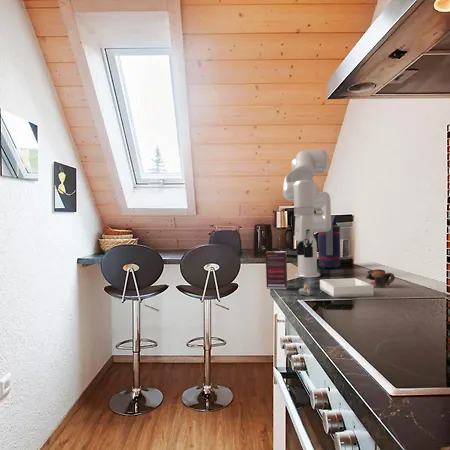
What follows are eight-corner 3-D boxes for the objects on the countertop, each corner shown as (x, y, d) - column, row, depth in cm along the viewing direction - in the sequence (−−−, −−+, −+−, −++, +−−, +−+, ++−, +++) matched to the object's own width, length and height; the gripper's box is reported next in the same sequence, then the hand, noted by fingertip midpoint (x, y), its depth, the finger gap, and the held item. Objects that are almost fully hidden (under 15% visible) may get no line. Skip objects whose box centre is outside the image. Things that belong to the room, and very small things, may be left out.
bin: (320, 289, 157) (319, 279, 157) (356, 287, 158) (355, 278, 158) (333, 297, 141) (333, 286, 141) (373, 295, 143) (373, 285, 142)
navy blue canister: (319, 266, 223) (318, 215, 222) (339, 266, 220) (339, 215, 219) (318, 269, 210) (317, 216, 209) (341, 270, 207) (340, 215, 206)
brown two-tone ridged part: (364, 288, 160) (362, 270, 163) (372, 294, 166) (370, 277, 170) (393, 283, 152) (390, 264, 156) (400, 290, 159) (397, 272, 163)
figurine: (295, 294, 148) (297, 279, 147) (304, 293, 150) (306, 278, 149) (304, 298, 143) (306, 283, 142) (313, 297, 146) (315, 282, 145)
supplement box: (287, 287, 162) (286, 250, 161) (286, 289, 157) (285, 252, 157) (267, 286, 164) (267, 250, 164) (265, 289, 160) (265, 252, 159)
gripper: (289, 212, 154) (289, 254, 154) (300, 211, 136) (301, 258, 137) (306, 212, 154) (307, 254, 154) (320, 211, 137) (321, 258, 137)
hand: (304, 256), depth 146 cm, fingers open, 9 cm apart
